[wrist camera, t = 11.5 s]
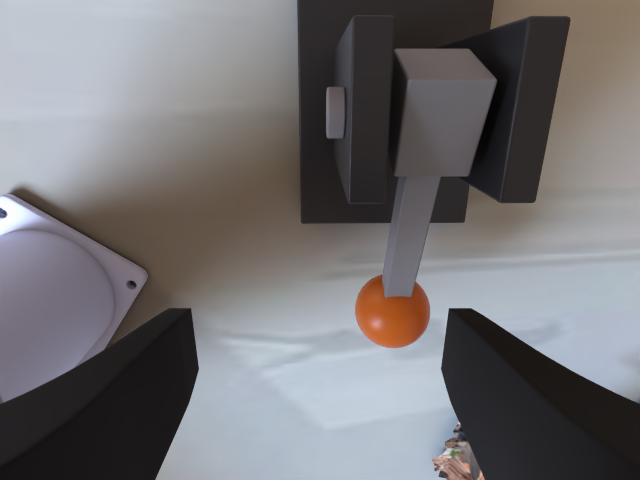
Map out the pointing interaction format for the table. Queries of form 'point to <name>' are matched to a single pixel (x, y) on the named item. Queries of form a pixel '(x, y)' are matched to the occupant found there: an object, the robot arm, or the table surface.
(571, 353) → the table surface
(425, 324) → the orange knob lever
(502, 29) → the housing
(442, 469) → the brown bird figurine
